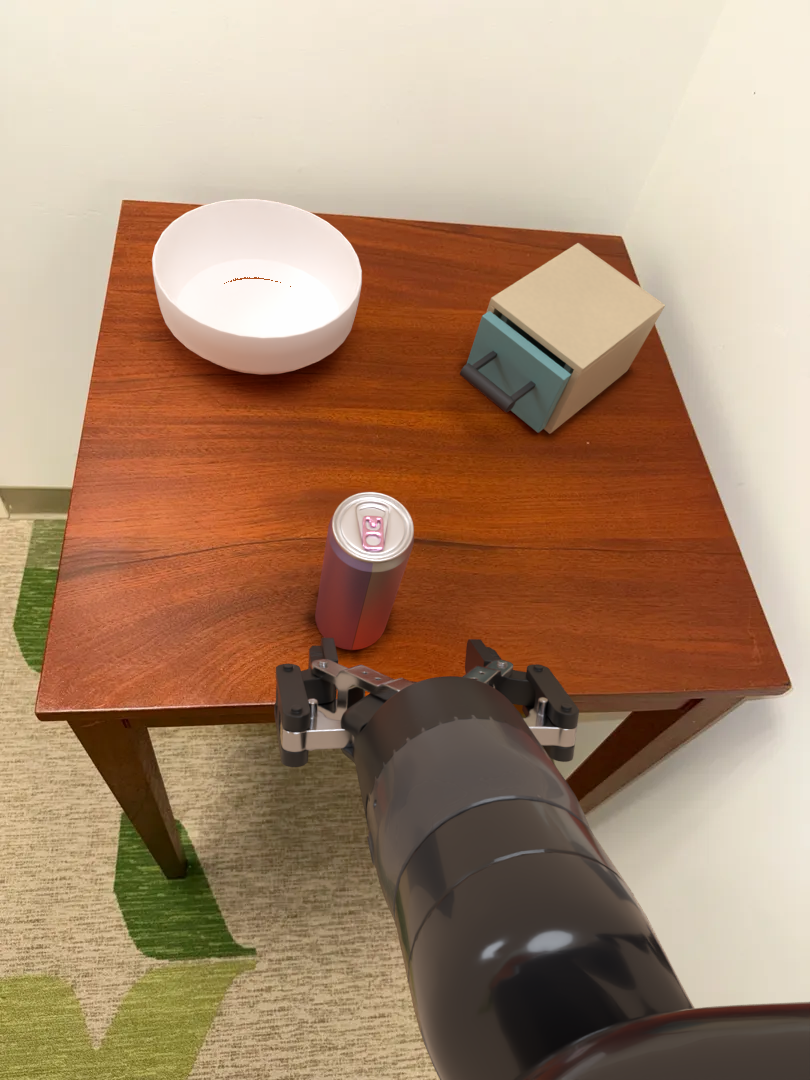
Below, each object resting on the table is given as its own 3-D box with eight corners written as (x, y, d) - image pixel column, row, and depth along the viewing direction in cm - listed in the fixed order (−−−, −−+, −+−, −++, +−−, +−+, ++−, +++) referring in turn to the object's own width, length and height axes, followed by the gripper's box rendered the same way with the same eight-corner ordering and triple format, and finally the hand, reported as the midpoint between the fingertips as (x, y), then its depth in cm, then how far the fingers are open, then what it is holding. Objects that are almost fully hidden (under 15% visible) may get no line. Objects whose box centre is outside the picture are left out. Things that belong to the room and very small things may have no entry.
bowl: (185, 252, 84) (179, 182, 77) (362, 284, 86) (372, 219, 79) (139, 383, 74) (126, 316, 67) (341, 417, 76) (350, 355, 68)
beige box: (549, 434, 79) (583, 368, 71) (467, 367, 82) (490, 297, 74) (627, 371, 86) (665, 305, 78) (549, 311, 89) (578, 242, 81)
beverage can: (313, 651, 62) (328, 561, 50) (315, 587, 65) (330, 486, 53) (386, 654, 63) (418, 566, 51) (385, 590, 66) (415, 492, 54)
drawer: (509, 456, 75) (533, 403, 69) (433, 392, 78) (449, 336, 72) (612, 373, 84) (642, 319, 77) (540, 318, 87) (564, 262, 80)
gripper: (657, 720, 29) (524, 594, 45) (278, 724, 27) (277, 589, 42) (631, 892, 31) (511, 712, 46) (272, 911, 28) (272, 714, 44)
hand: (399, 653), depth 44 cm, fingers open, 8 cm apart
